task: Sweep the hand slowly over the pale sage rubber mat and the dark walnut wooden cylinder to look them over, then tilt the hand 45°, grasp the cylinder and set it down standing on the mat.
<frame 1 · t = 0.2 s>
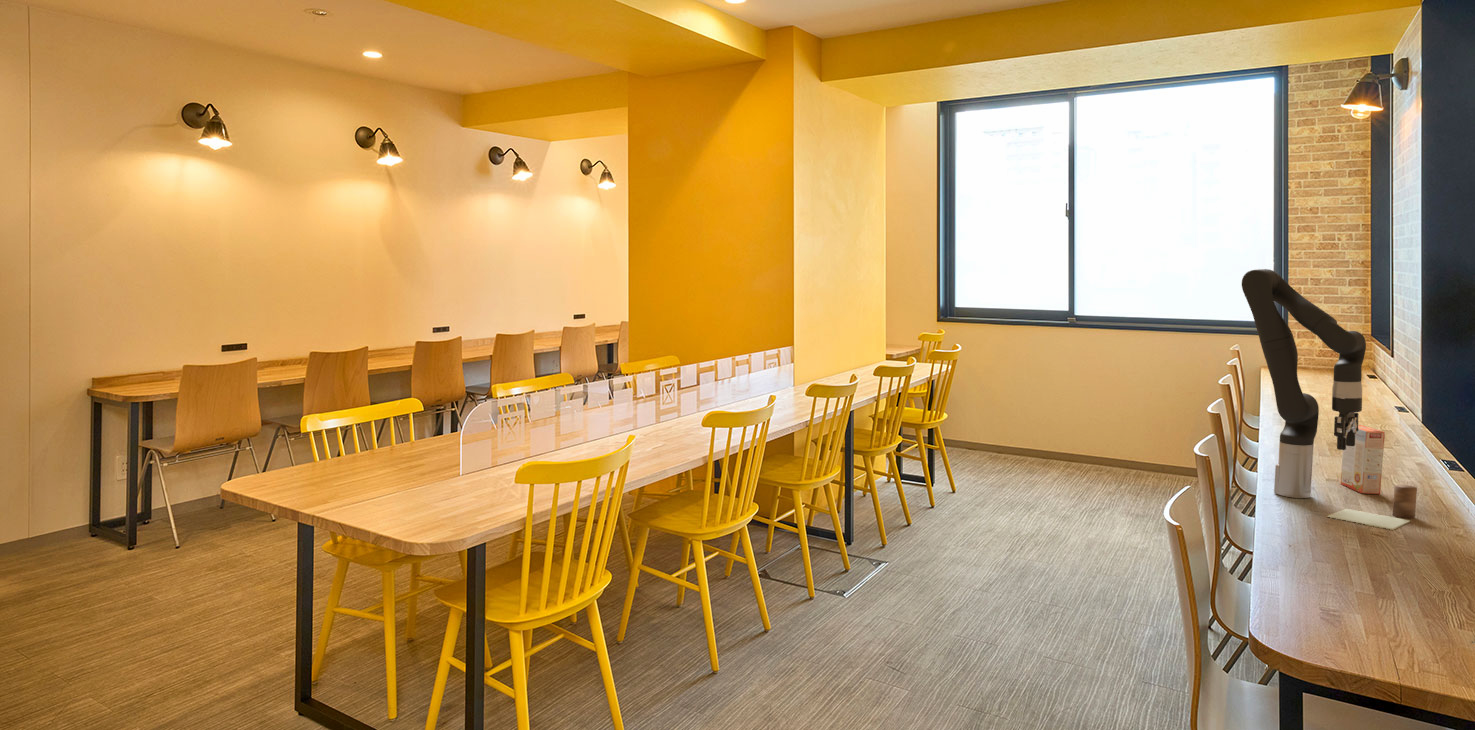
hand: (1346, 447, 262), 18 cm above the table, tool pointing down, fingers open, 8 cm apart
cracker box: (1360, 490, 283), on the table
walnut cylinder: (1403, 516, 250), on the table
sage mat: (1368, 519, 247), on the table
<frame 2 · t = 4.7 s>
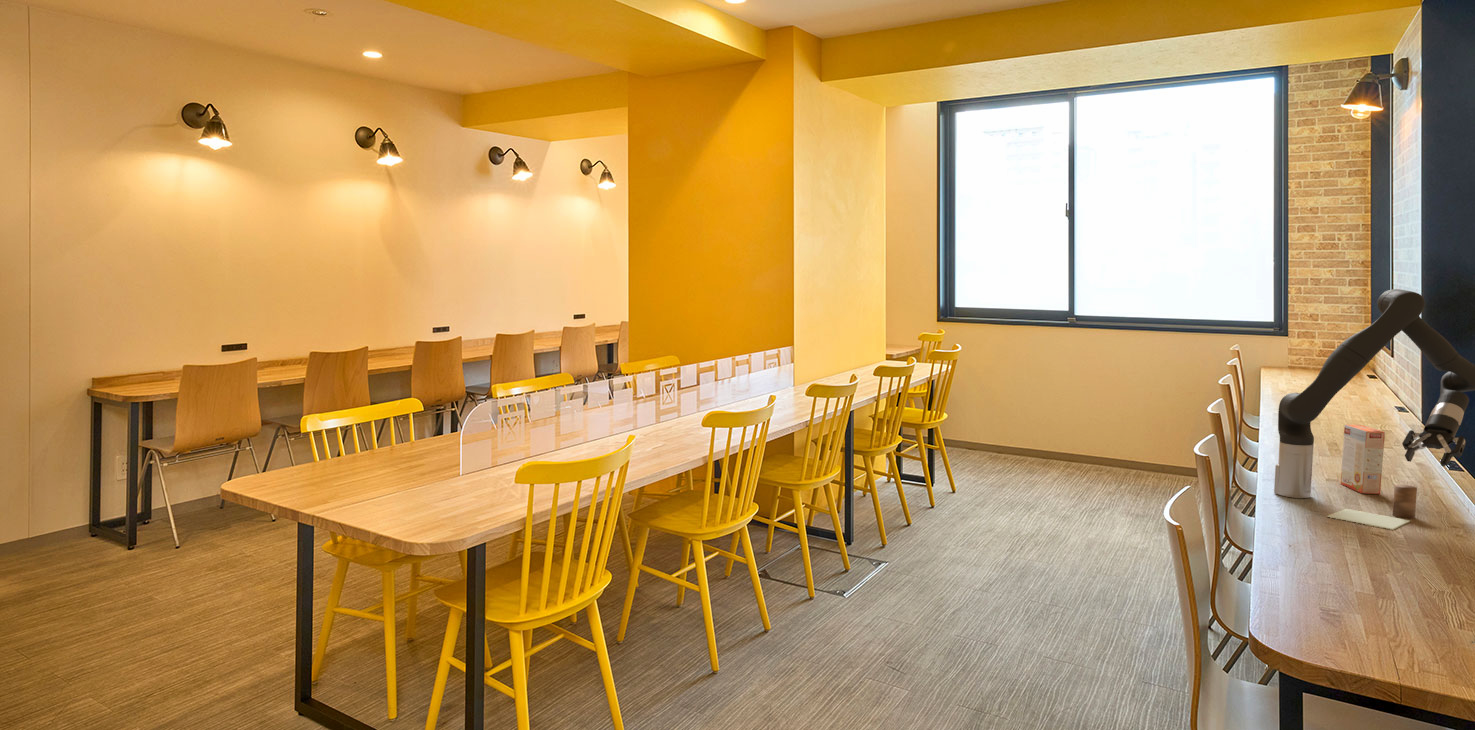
hand: (1425, 462, 254), 15 cm above the table, tool tilted 45°, fingers open, 8 cm apart
nothing on the table moved.
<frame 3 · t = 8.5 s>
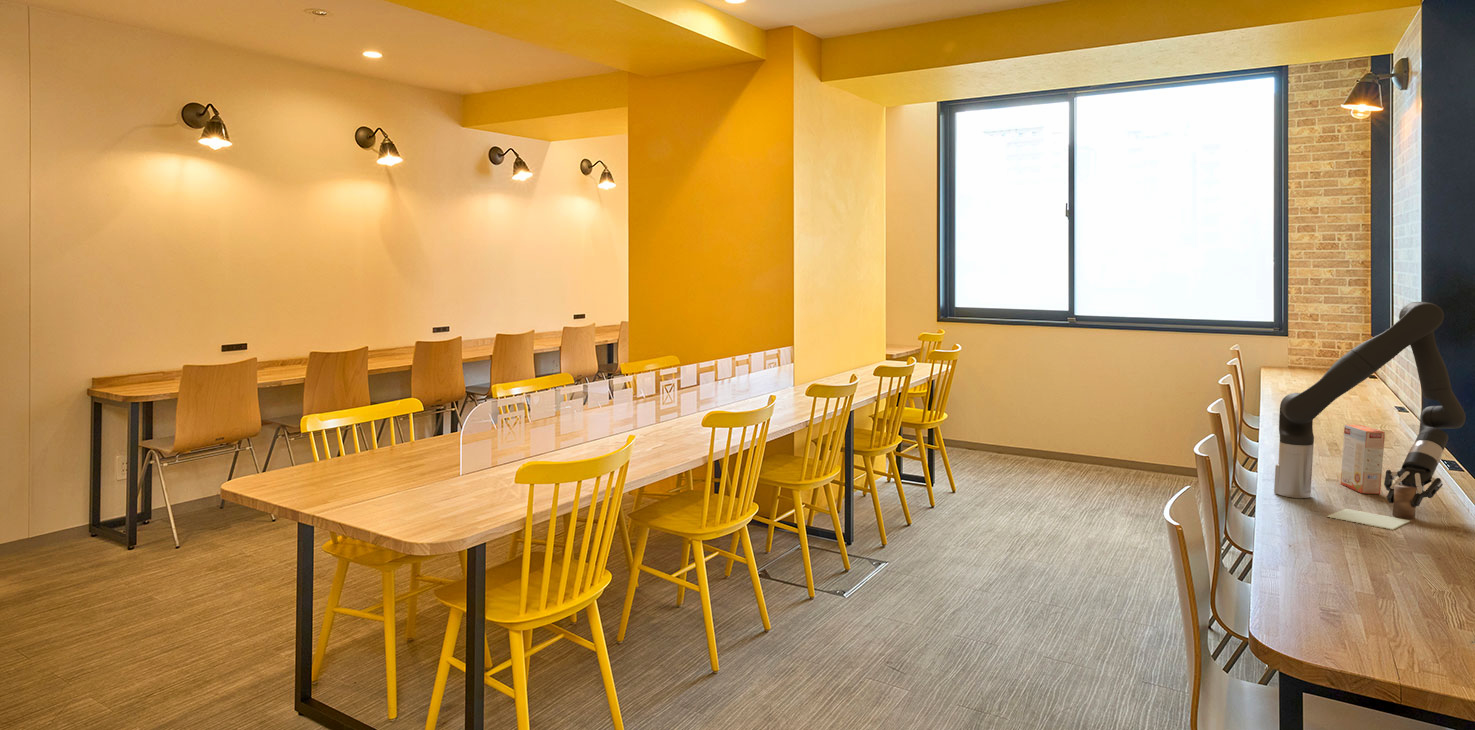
hand: (1401, 503, 249), 4 cm above the table, tool tilted 45°, fingers closed on walnut cylinder, 5 cm apart
walnut cylinder: (1403, 516, 250), on the table, touching gripper
everything else where it was.
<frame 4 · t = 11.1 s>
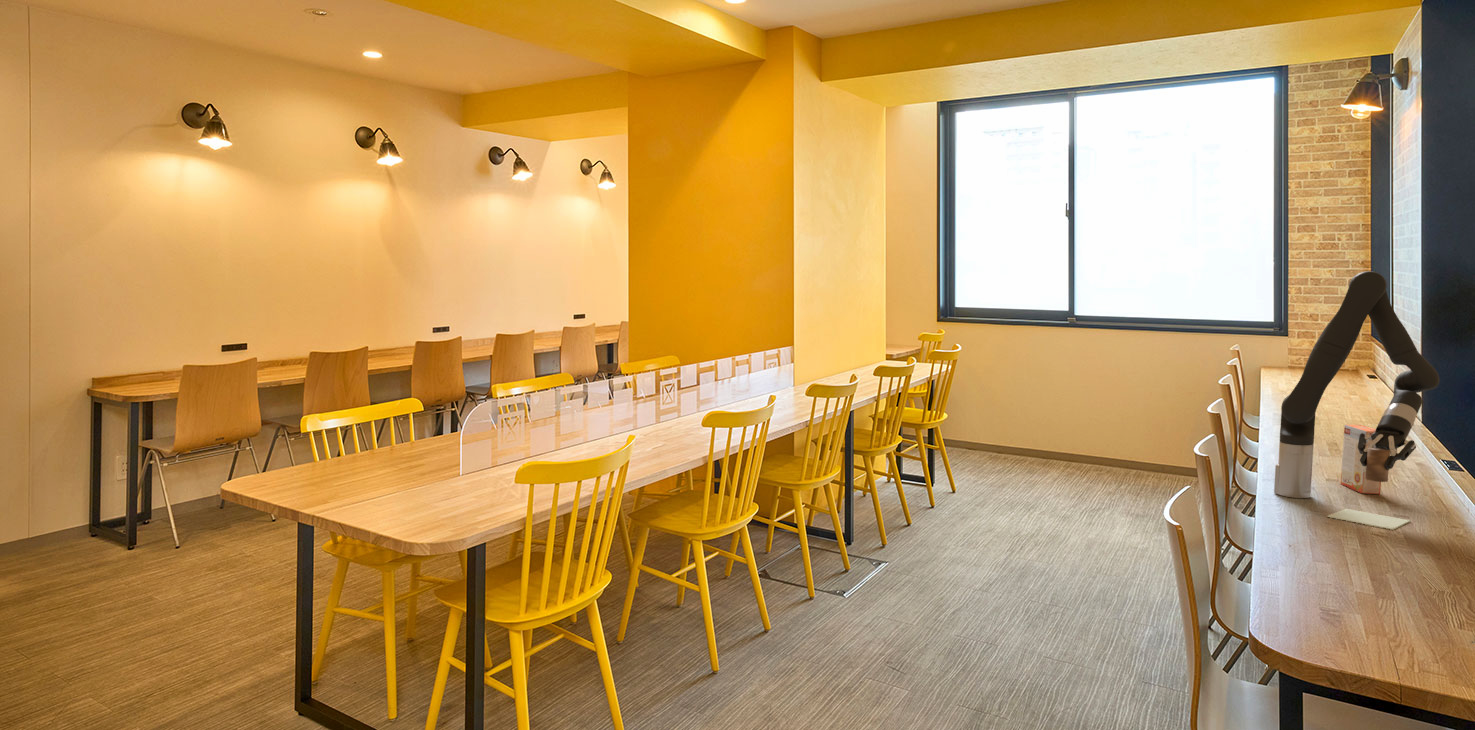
hand: (1374, 466, 245), 16 cm above the table, tool tilted 45°, fingers closed on walnut cylinder, 5 cm apart
walnut cylinder: (1376, 479, 247), point 12 cm above the table, touching gripper
everything else where it was.
when the fingers open (6 cm above the table, at t = 13.7 s): walnut cylinder drops 1 cm, resting on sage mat.
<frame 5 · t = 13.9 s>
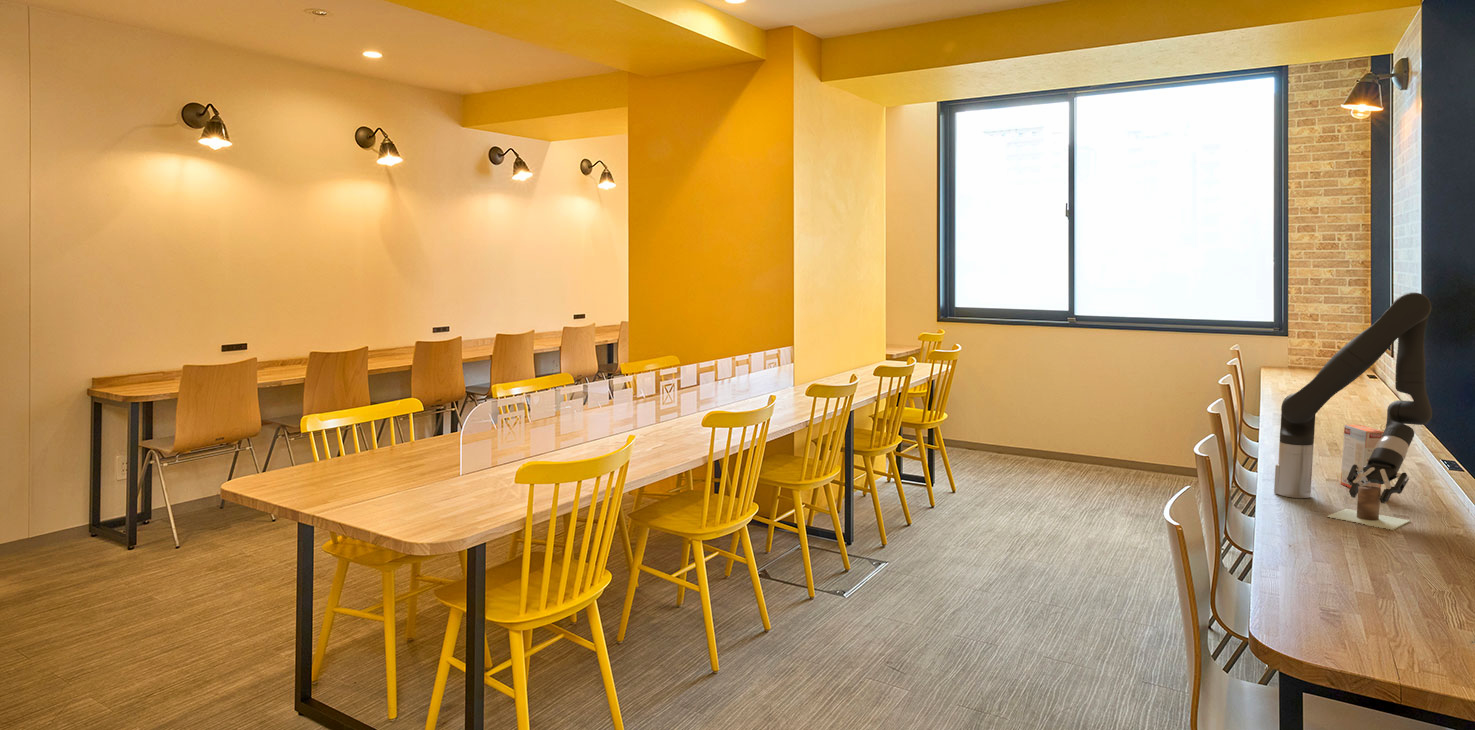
hand: (1367, 498, 246), 6 cm above the table, tool tilted 45°, fingers open, 7 cm apart
walnut cylinder: (1367, 518, 247), resting on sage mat
everything else where it was.
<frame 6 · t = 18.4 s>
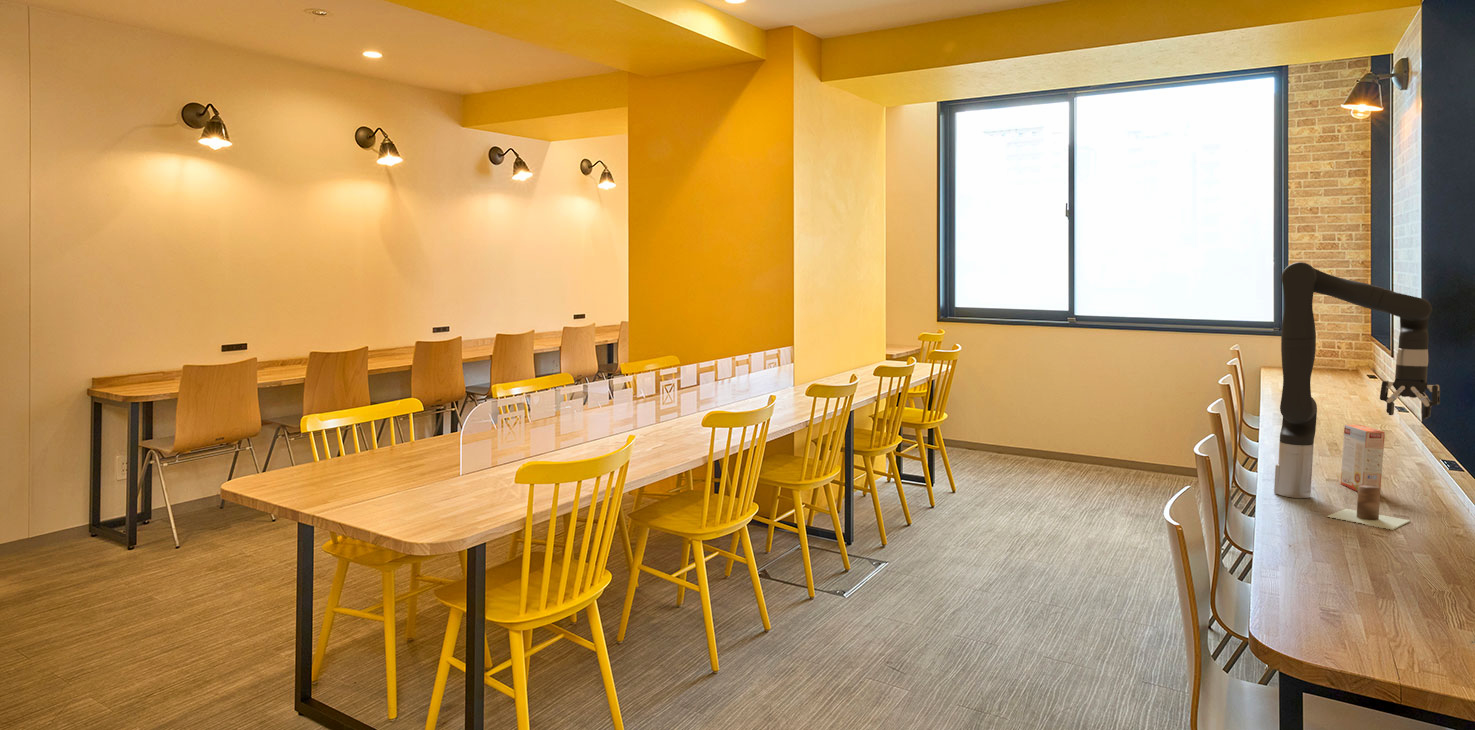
hand: (1408, 416, 258), 28 cm above the table, tool pointing down, fingers open, 8 cm apart
nothing on the table moved.
at the end: walnut cylinder inside the target area (0.2 cm from its centre), point 0.5 cm above the table; walnut cylinder tilted 3°; the gripper is holding nothing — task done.
